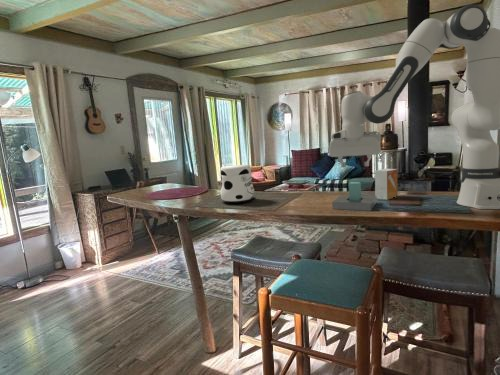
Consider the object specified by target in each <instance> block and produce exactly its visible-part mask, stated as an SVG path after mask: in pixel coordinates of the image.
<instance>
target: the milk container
mask: <svg viewBox="0 0 500 375" xmlns="http://www.w3.org/2000/svg"><path fill="white" fill-rule="evenodd" d="M219 172H220V183H221V186H220V192H219V193H220V198H221V200H222V201H223V202H224V203H229V204H240V203H246V202H250V201H251V200H253V199H254V197H255V188H254V185H253V181H252V180H253V179H252V177H253V176H252V167H251V165H250V164H235V165H226V166H221V167H220V168H219Z"/></svg>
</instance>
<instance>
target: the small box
mask: <svg viewBox="0 0 500 375" xmlns="http://www.w3.org/2000/svg"><path fill="white" fill-rule="evenodd" d="M398 170H399V169H398V168H382V169H377V170H375V171H374V186H375V187H374V191H375V192H374V196H377V200H378V199H379V200H384V201H385V200H387V201H388V200H391V199H394V198H393V197H395V198H397V197H398ZM396 196H397V197H396Z"/></svg>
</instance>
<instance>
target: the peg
mask: <svg viewBox="0 0 500 375" xmlns="http://www.w3.org/2000/svg"><path fill="white" fill-rule="evenodd" d="M348 195H349V200H356V201H361V196H362V184H361V181H351V182H348Z"/></svg>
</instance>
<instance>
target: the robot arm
mask: <svg viewBox="0 0 500 375" xmlns="http://www.w3.org/2000/svg"><path fill="white" fill-rule="evenodd" d="M462 46H463V47H464V48H465V51H466V66H465V68H466V70H465V86H466V88H467V89H468V90H470V92H471V95H472V98H473V101H471V102H467V103H465V104H462V105H460V106H459V107H457V108H456V109H455V110H454V111H453V112H452V114H451V117H450V118H451V119H450V120H451V124H452V125H453V127H455V128H456V130H457V132H458V135H459V138H460V141H461V146H462V167H461V168H460V190H459V194H458V197H457V200H456V203H457V205H460V206H463V207H469V208H474V209H479V210H500V167H499V159H500V158H499V156H500V147H499V145H498V144H497V143H496V141H494V139H493V137H492V134H491V131H498V130H500V29H499V28H495V27H491V21H490V20H489V18H488V14H487V12H486V10H485V9H484V8H483V7H482V6H480V5H479V4H467V5H465V6H462V7H461V8H459V9H458V10H457V11H455V13H453V14H452V15H451V16H450V17H448V19H447V20H444V21H442V20H439V19H437V18H434V17H433V18H431V17H430V18H426V19H424V20H423V21H422V22H420V23H419V24H418V25H417V27H415V29H414V30H413V31H412V32H411V34H410V35H409V36H408V37H407V39H406V40H405V42H404V43H403V45H402V46H401V48H400V50H399V51H398V54H397V55H396V58H395V68H394V70H393V72H392V74H391V76H390V77H389V79H388V80H387V81H386V83H385V85H384V86H383V87H382V89H381V90H380V91H379V92H378V93H377V94H375V95H374V96H371V95H368V94H366V93H364V92H362V91H361V90H358V91H357V90H356V91H352V92H349V93H348V94H346V95H344V96H343V97H342V99H341V102H340V103H341V107H340V112H341V113H340V114H341V115H340V116H341V120H342V124H341V130H339V131H337V132H336V131H335V132H334V133H332V134H331V135H330V138H331V141H330V142H329V149H328V150H329V152H328V153H329V156H330V157H331V158H335V157H337V159H338V161H339V163H340V164H341V166H340V167H341V168H345V167H346V162H344V161H343V157H357V156H366V157H367V160H366V161H364V162H363V163H364V167H369V166H370V161H371V159H372V157H373V156H375V155H380V154H381V151H382V149H381V148H382V147H381V139H382V137H381V136H382V135H381V133H380V132H378V131H376V130H375V131H365V130H366V127H365V126H366V124H365V123H367V122H369V123H372V124H377V125H378V124H383V123H385V122H388V121H389V119H391V117H392V116H393V114H394V111H395V108H396V103H397V100H398V98H399V96H400V95H401V94H402V92H403V90H404V89H405V87H407V84H408V83H409V81H410V80H411V79H412V78H413V77H414V76H416V74H418V72H420V71H421V70H422V69H423V68H424V66H425V65H426V64H427V63H428V62H429V61H430V59H432V56H433V54H434V53H435V51H436V50H437V49H438V48H443V49H448V50H449V49H450V50H454V49H458V48H459V47H460V48H461V47H462ZM372 155H373V156H372Z"/></svg>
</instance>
